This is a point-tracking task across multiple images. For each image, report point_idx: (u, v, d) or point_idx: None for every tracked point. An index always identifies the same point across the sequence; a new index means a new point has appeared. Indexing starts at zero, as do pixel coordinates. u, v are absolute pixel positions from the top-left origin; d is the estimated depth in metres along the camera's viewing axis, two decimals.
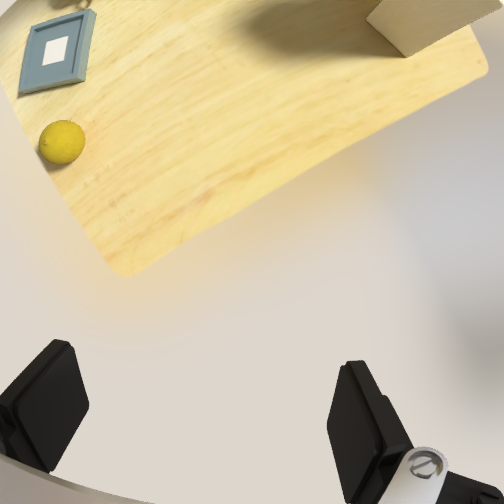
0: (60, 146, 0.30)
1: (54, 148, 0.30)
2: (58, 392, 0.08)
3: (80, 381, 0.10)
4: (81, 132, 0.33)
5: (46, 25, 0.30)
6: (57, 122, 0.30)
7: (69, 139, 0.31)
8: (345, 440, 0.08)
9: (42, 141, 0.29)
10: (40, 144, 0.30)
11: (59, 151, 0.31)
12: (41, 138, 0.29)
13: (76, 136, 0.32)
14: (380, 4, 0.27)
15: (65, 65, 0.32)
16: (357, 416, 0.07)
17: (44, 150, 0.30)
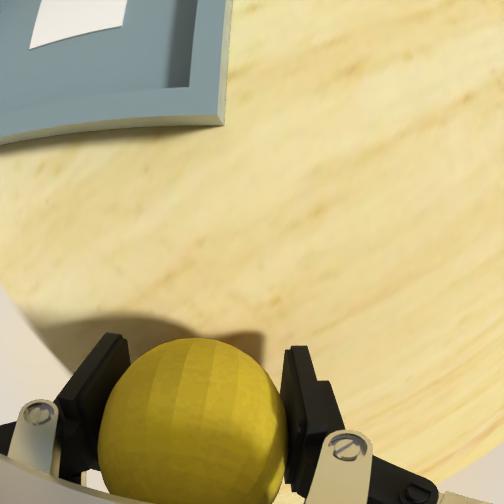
0: None
1: None
2: (114, 384, 0.09)
3: None
4: (281, 402, 0.09)
5: None
6: (193, 433, 0.06)
7: (278, 488, 0.06)
8: None
9: None
10: None
11: None
12: None
13: (286, 447, 0.08)
14: None
15: (131, 47, 0.08)
16: (291, 396, 0.08)
17: None
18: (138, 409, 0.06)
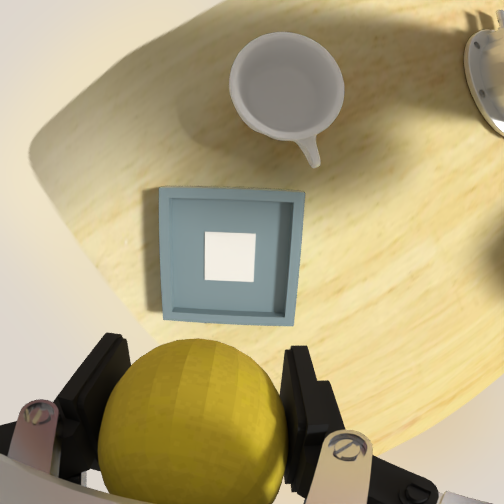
0: None
1: None
2: (114, 384, 0.09)
3: None
4: (281, 402, 0.09)
5: None
6: (193, 434, 0.06)
7: (277, 489, 0.06)
8: None
9: None
10: None
11: None
12: None
13: (286, 448, 0.08)
14: None
15: (258, 291, 0.27)
16: (291, 396, 0.08)
17: None
18: (138, 410, 0.06)
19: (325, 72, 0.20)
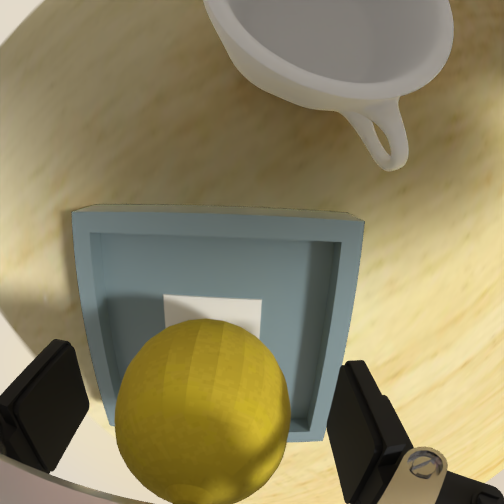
0: (253, 492, 0.07)
1: None
2: (58, 392, 0.08)
3: (80, 381, 0.10)
4: (283, 376, 0.10)
5: None
6: (206, 396, 0.07)
7: (281, 454, 0.08)
8: (345, 440, 0.08)
9: (161, 491, 0.06)
10: (144, 482, 0.06)
11: None
12: (145, 472, 0.06)
13: (289, 417, 0.09)
14: None
15: None
16: (357, 416, 0.07)
17: None
18: (155, 377, 0.07)
19: None
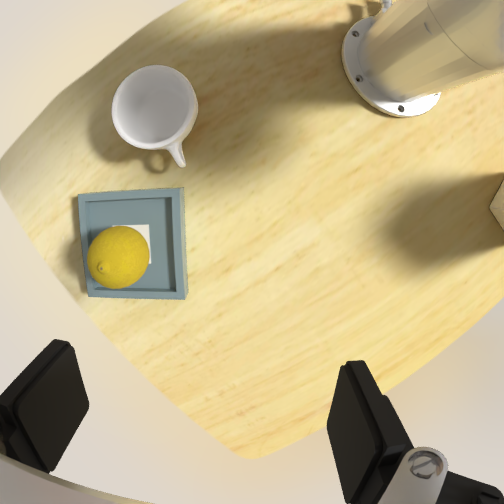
0: (125, 274, 0.25)
1: (117, 277, 0.24)
2: (58, 392, 0.08)
3: (80, 381, 0.10)
4: (145, 243, 0.28)
5: (106, 199, 0.29)
6: (112, 235, 0.25)
7: (136, 262, 0.25)
8: (345, 440, 0.08)
9: (96, 267, 0.24)
10: (92, 269, 0.24)
11: (124, 280, 0.25)
12: (92, 261, 0.24)
13: (142, 253, 0.27)
14: None
15: (156, 271, 0.32)
16: (357, 416, 0.07)
17: (101, 278, 0.24)
18: (100, 234, 0.25)
19: None
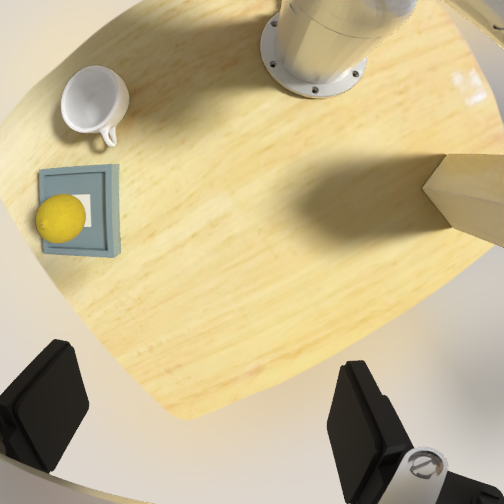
0: (59, 230, 0.29)
1: (53, 232, 0.29)
2: (58, 392, 0.08)
3: (80, 381, 0.10)
4: (81, 208, 0.32)
5: (58, 173, 0.33)
6: (53, 200, 0.29)
7: (68, 221, 0.29)
8: (345, 440, 0.08)
9: (39, 223, 0.28)
10: (37, 226, 0.28)
11: (59, 235, 0.29)
12: (37, 219, 0.28)
13: (76, 215, 0.31)
14: (445, 193, 0.30)
15: (94, 233, 0.36)
16: (357, 416, 0.07)
17: (43, 233, 0.28)
18: None
19: None
